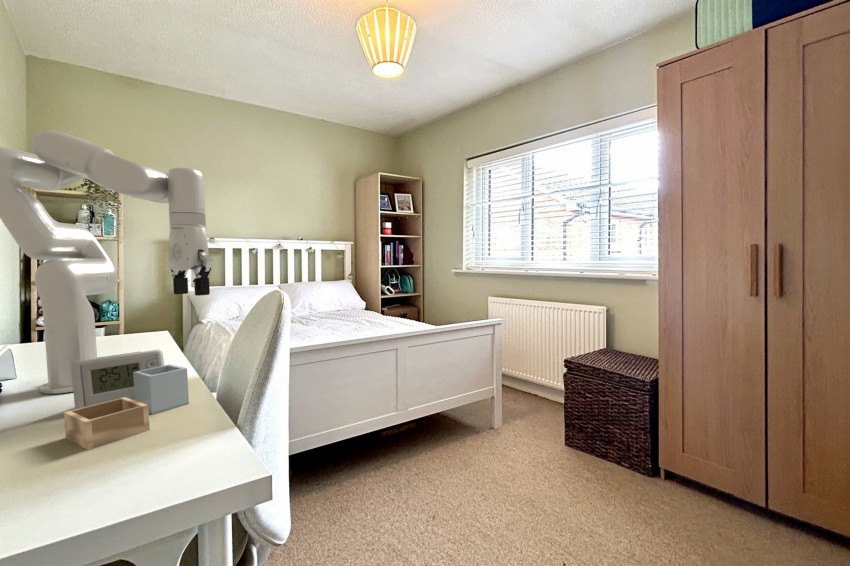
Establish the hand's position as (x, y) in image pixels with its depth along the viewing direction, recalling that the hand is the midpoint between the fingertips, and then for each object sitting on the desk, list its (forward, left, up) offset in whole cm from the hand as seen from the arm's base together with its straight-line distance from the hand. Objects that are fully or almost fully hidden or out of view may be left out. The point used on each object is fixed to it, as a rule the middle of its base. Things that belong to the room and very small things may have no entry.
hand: (191, 294), depth 101 cm
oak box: (+17, -24, -22) cm, 37 cm away
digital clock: (0, -15, -23) cm, 27 cm away
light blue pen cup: (+10, -12, -22) cm, 27 cm away
